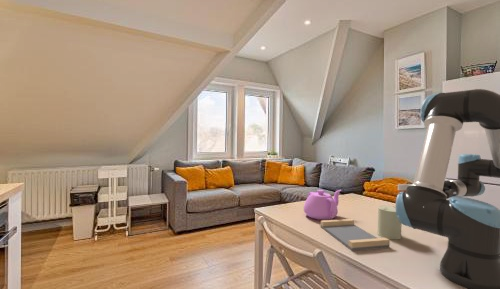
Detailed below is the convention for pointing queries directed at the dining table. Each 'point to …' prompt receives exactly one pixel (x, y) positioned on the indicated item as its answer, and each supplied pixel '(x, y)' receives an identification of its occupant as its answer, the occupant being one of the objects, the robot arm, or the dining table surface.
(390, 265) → the dining table surface
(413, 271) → the dining table surface
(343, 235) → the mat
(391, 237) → the can
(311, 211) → the teapot
